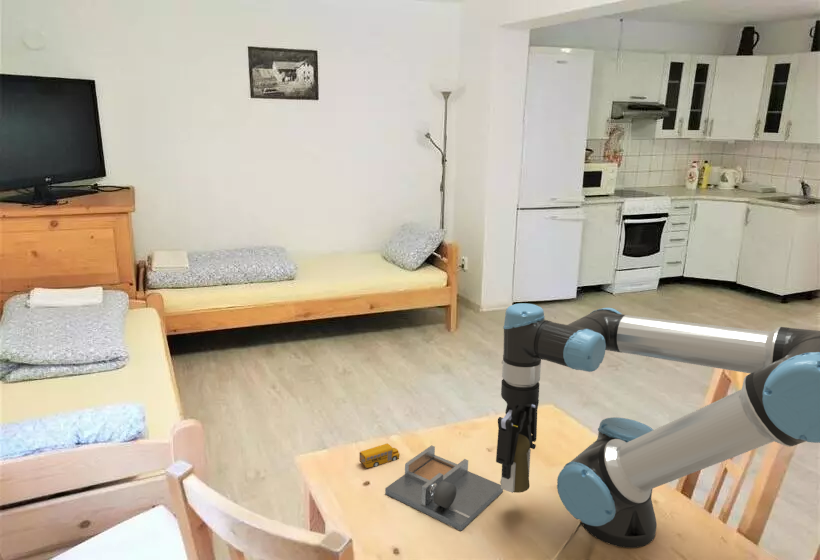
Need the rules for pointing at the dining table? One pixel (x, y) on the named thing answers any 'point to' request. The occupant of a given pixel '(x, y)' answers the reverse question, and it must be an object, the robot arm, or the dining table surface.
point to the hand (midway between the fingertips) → (515, 482)
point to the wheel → (445, 494)
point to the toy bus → (378, 455)
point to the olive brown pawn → (521, 464)
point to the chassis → (426, 477)
